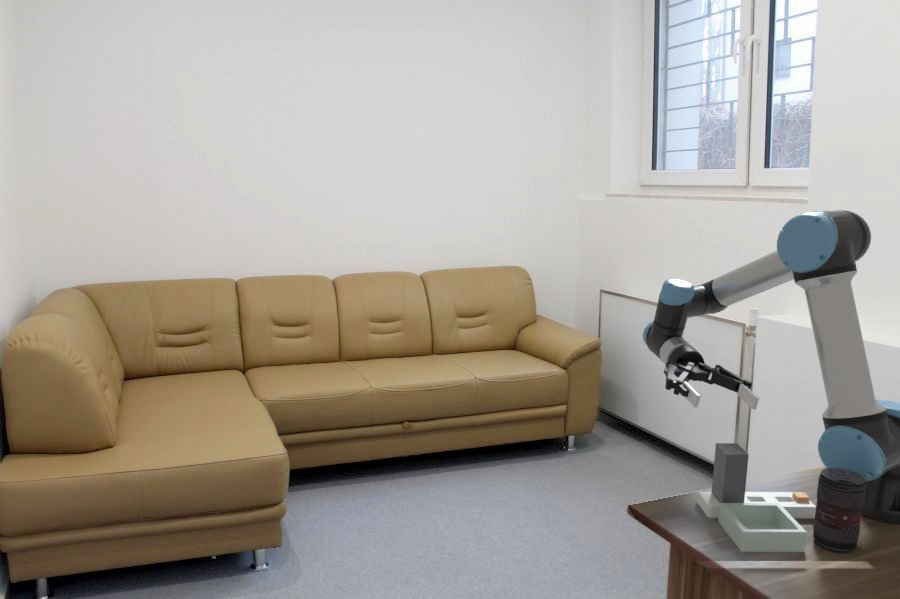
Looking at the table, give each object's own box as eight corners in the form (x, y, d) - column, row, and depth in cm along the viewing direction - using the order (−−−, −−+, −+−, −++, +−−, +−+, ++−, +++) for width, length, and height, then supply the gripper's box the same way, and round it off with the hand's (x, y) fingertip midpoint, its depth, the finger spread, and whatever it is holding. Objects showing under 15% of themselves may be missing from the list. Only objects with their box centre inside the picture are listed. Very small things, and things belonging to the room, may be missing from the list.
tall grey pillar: (731, 502, 167) (737, 443, 164) (742, 516, 161) (748, 454, 158) (710, 502, 167) (715, 443, 164) (720, 515, 161) (726, 454, 158)
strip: (799, 507, 168) (801, 487, 167) (814, 522, 161) (817, 502, 160) (696, 506, 167) (698, 487, 166) (707, 522, 160) (709, 501, 160)
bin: (776, 526, 159) (779, 503, 158) (804, 556, 148) (806, 532, 147) (717, 526, 159) (719, 502, 158) (740, 556, 147) (743, 531, 146)
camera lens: (863, 561, 146) (873, 486, 143) (816, 556, 148) (825, 481, 145) (850, 540, 154) (859, 468, 151) (806, 536, 155) (814, 464, 153)
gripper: (726, 375, 189) (774, 420, 169) (629, 371, 184) (668, 416, 164) (734, 347, 186) (784, 388, 167) (636, 341, 181) (676, 384, 162)
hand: (727, 402), depth 165 cm, fingers open, 13 cm apart
